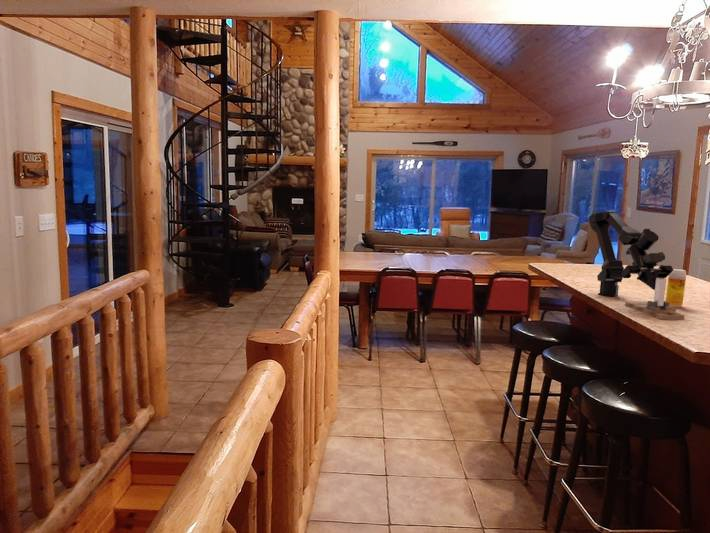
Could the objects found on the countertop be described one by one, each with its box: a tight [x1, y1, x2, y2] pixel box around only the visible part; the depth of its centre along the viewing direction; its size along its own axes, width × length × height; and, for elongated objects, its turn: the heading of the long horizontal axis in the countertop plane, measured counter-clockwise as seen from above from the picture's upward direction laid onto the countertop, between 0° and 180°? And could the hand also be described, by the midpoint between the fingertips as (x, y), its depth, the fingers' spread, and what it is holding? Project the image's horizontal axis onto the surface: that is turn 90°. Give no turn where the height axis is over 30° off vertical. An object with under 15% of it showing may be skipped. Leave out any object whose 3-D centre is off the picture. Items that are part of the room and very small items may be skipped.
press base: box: [624, 300, 685, 320], centre depth 205 cm, size 22×9×5 cm, turn 7°
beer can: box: [665, 268, 687, 308], centre depth 216 cm, size 6×6×15 cm
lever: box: [653, 278, 667, 308], centre depth 202 cm, size 2×3×12 cm
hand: (655, 289), depth 204 cm, fingers closed
